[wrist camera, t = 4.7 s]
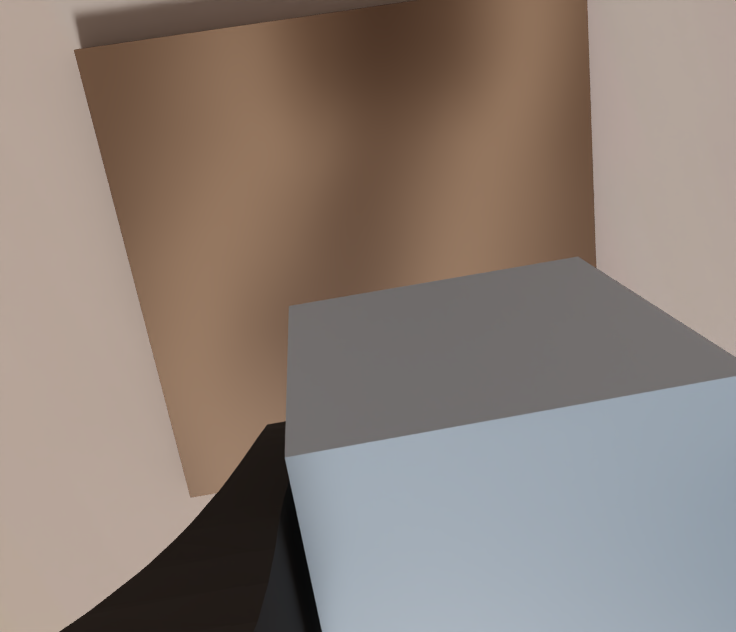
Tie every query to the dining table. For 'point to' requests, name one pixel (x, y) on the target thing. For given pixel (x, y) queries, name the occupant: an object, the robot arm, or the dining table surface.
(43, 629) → the dining table surface
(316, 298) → the walnut board
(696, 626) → the blue cube
